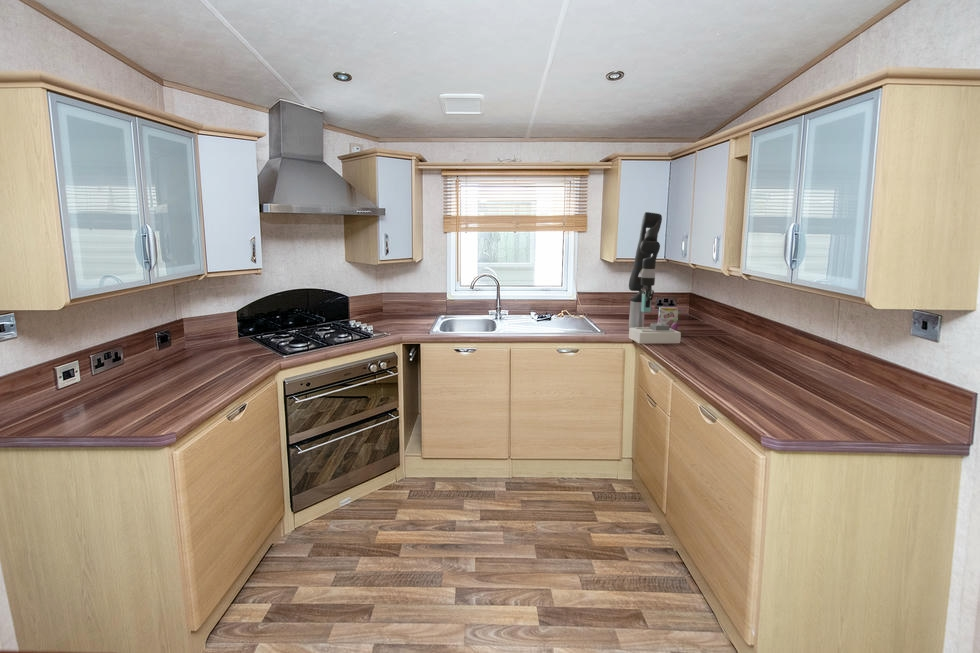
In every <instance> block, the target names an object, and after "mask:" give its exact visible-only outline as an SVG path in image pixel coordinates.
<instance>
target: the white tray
mask: <svg viewBox="0 0 980 653" xmlns="http://www.w3.org/2000/svg"><path fill="white" fill-rule="evenodd" d="M681 337H682V332H680V331H678V330H677V331H675V330H674V329H671V328H670V329H669V330H653V329H650V326H643V327H635V328H630V327H628V339H631V340H632V341H633V342H635V343H638V344H640V345H641V344H680V343H681Z"/></svg>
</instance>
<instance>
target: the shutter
mask: <svg viewBox="0 0 980 653" xmlns="http://www.w3.org/2000/svg"><path fill="white" fill-rule="evenodd" d="M649 327H650V329H653V330H669V329H670V326H669V325H667V324H664V323H659V322H658V321H656V322H654V323H653V322H652V323H650V326H649Z"/></svg>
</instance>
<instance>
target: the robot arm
mask: <svg viewBox="0 0 980 653" xmlns="http://www.w3.org/2000/svg"><path fill="white" fill-rule="evenodd" d="M662 221H663V216H662V214H660V213H657V212H649V211H647V212H646V211H645V212H644V214H643V216H642V221H641V229H640V233H639V239H638V243H637V247H636V250H635V257H634V263H633V267H632V270H631V273H630V277H629V280H628V281H629V282H628V289H629V291H631V292H637V293H636V294H634V295H632V296H630V299H629V301H630V304H629V315H628V316H629V318H628V328H635V327H644V324H645V312H642V311H641V303H642V294H645V297H646V307H647V308H649V307H650V301H651V302H652V301H653V298H654V293H655V290H654V289H653V287H654V286H655V282H656V264H657V258H658V254H659V252H660V248H661V244H660V242H659V241H658V238H659V232H660V230H661V225H662ZM647 229H648V230H647ZM640 273H641V275H640ZM639 275H640V276H639Z"/></svg>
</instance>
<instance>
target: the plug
mask: <svg viewBox="0 0 980 653" xmlns="http://www.w3.org/2000/svg"><path fill="white" fill-rule="evenodd" d="M651 307H652V300H651V301H650V307H649V308H647V307H646V297H645V294H642V303H641V311H642V312H644V313H651V311H652V310H651V309H652V308H651Z"/></svg>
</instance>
